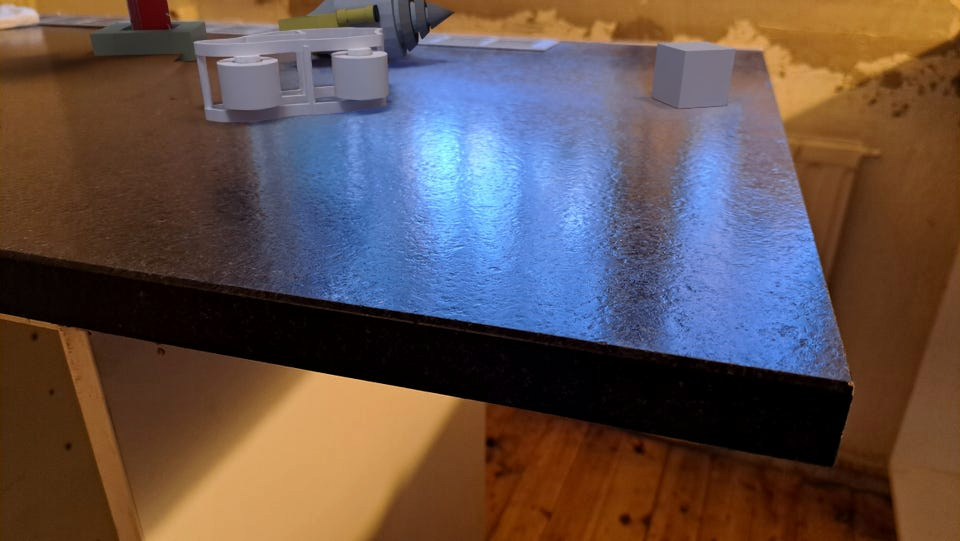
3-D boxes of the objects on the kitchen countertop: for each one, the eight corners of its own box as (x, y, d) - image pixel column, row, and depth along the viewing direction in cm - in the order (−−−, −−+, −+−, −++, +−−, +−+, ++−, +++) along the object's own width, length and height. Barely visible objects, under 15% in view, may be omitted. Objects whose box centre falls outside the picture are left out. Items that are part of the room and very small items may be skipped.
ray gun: (308, 10, 109) (259, -19, 90) (459, -11, 107) (443, -46, 87) (319, 84, 111) (273, 71, 92) (468, 64, 109) (454, 47, 89)
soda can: (180, 56, 105) (165, -32, 100) (140, 59, 102) (122, -31, 97) (173, 51, 109) (158, -34, 104) (134, 54, 107) (117, -33, 101)
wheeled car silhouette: (212, 131, 66) (198, 50, 63) (199, 107, 75) (187, 34, 72) (412, 111, 74) (410, 38, 71) (379, 91, 83) (376, 25, 80)
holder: (96, 63, 99) (89, 33, 97) (120, 49, 110) (115, 22, 109) (195, 61, 101) (190, 32, 99) (208, 47, 113) (204, 21, 111)
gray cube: (651, 97, 81) (657, 43, 78) (697, 94, 82) (704, 41, 80) (678, 108, 76) (685, 50, 73) (727, 105, 77) (736, 48, 75)
